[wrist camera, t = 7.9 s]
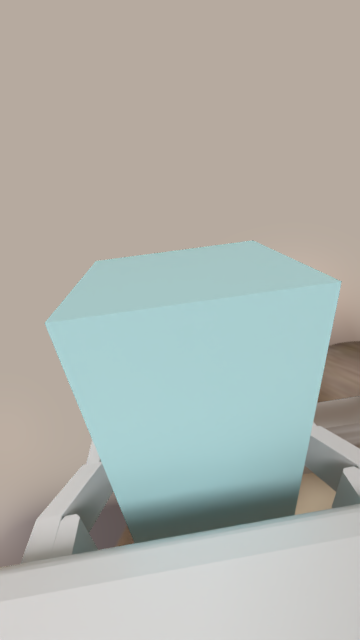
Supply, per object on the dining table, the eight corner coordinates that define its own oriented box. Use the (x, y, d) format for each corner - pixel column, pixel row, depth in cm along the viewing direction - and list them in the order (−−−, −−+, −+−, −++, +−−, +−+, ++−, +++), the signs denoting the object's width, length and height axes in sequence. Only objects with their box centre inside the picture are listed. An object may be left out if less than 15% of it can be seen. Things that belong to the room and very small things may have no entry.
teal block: (277, 600, 13) (341, 281, 5) (166, 621, 13) (44, 323, 5) (246, 498, 18) (253, 240, 10) (163, 513, 18) (96, 261, 9)
